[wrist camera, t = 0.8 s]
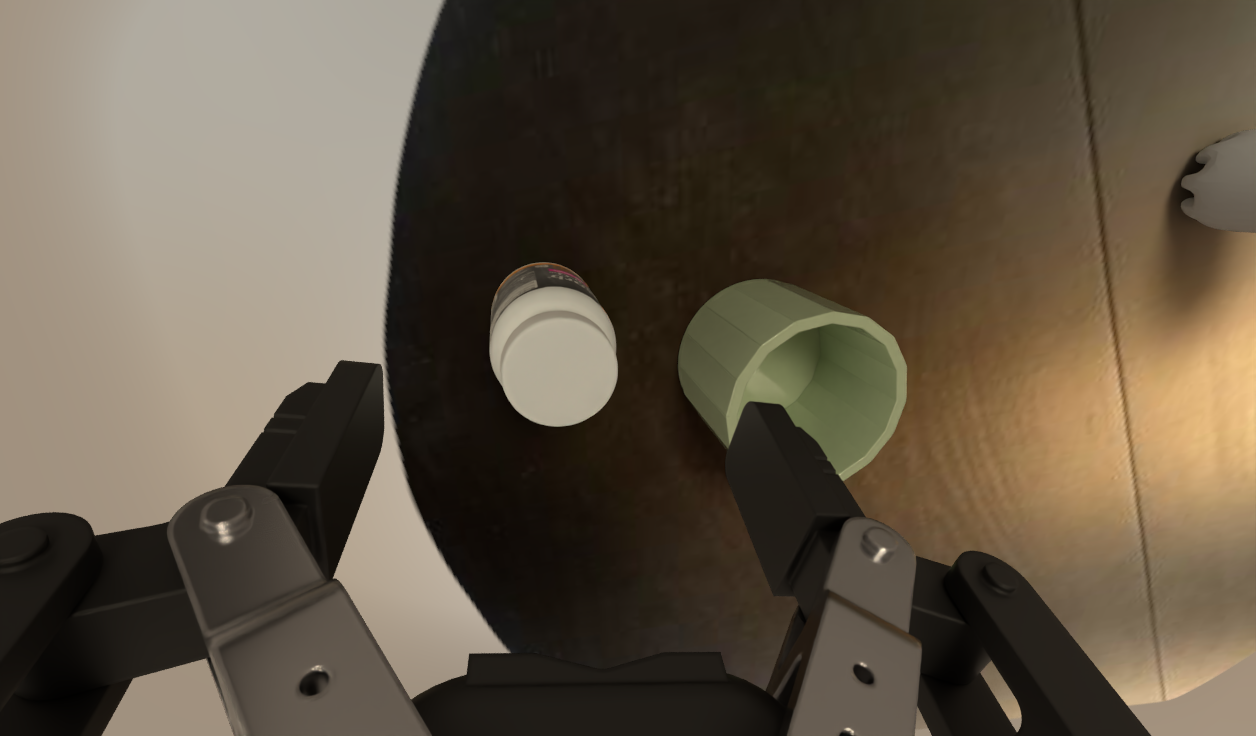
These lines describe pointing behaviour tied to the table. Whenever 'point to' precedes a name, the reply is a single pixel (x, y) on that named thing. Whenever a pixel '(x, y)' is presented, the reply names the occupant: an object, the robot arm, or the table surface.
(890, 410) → the green cup
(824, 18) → the table surface
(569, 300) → the pill bottle
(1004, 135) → the table surface
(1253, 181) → the bottle
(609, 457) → the table surface
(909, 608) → the robot arm
